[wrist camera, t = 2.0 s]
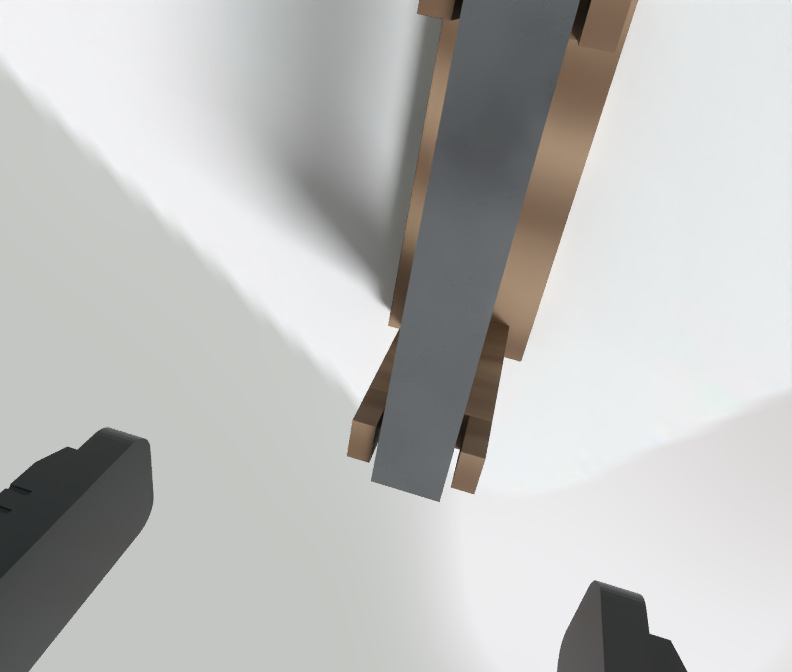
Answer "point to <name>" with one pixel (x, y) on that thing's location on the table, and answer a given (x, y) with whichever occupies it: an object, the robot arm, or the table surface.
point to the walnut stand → (537, 226)
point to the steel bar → (468, 227)
